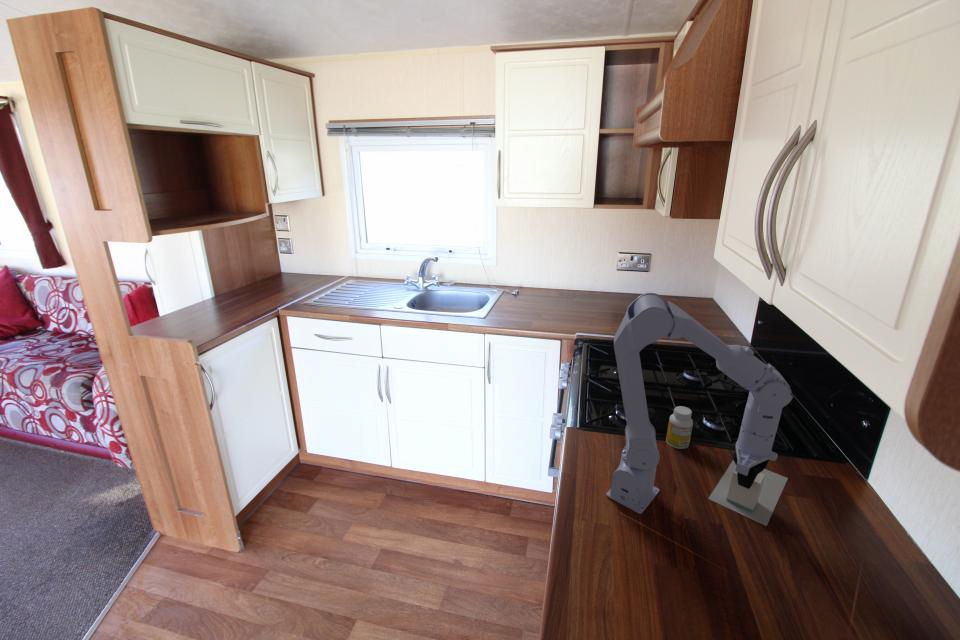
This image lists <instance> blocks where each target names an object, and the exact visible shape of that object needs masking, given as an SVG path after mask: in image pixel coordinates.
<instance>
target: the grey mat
mask: <svg viewBox="0 0 960 640" xmlns="http://www.w3.org/2000/svg"><path fill="white" fill-rule="evenodd" d="M735 469H736V464H735V462H734V460H732V461H731V462H730V463H729V466H728V467H727V469H726V470H725V472H724V473H723V475H722V477H721V478H720V480H719V481H718V483H717V484H716V486H715V487H714V489H713V490H712V492H711V493H710V495H709V497H708V498H707V499H708V500H709V501H711V502H713V503H716V504H719V505H720V506H722V507H725V508H726V509H728V510H731V511H733V512H735V513H738V514H740V515H741V516H744V517H746V518H748V519H750V520H752V521H755V522H756V523H759V524H761V525H763V526H764V527H767V526H768V523H769V521H770V519H771V517H772V515H773V513H774V510H775V508H776V505H777V504H778V502H779V499H780V497H781V495H782V493H783V491H784V488H785V485H786V484H787V481H788V479H789V478H788V477H786V476H783V475H780V474H779V473H776V472H773V471H771V470H768V469H767V468H765V469H764V470H763V471H762V472H760V473H763V474H765V478H764V481H763V485H762V489H761V492H760V496H759V500H758V503H757V505H756V507H755V509H754V510H753V512H751V511H749V510H747V509H745V508H743V507H740V506H738V505H736V504H734V503H732V502H730V501H727V500H726V499H727V495H728V491H729V487H730V483H731V479H732V475H733V472H734V470H735Z"/></svg>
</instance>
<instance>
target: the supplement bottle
mask: <svg viewBox="0 0 960 640" xmlns="http://www.w3.org/2000/svg"><path fill="white" fill-rule="evenodd" d="M692 414H693V412H692V410H691V409H690V408H689V407H686V406H683V405H682V406H681V405H679V406H676V407H674V409H673V413H672V414H671V415H670V416H669V419H668V420H669V421H668V425H667V432H666V438H665V441H666V443H667V444H668V445H669V446H670V447H672V448H676V449H679V450H680V449H681V450H683V449H687V448H689V446H690V442H691V436H692V432H693V431H692V430H693V426H694V421H693V419H692V418H691V417H692Z"/></svg>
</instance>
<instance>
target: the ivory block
mask: <svg viewBox="0 0 960 640" xmlns="http://www.w3.org/2000/svg"><path fill="white" fill-rule="evenodd" d="M764 478H765V474H763V473H759V474H758V475H757V476H756V478H755V480H754V482H753V484H752V486H751V487H750V489H747V488H745V487H743V486H740V485H739V484H738V477H737V472H736V471H735V470H734V472H733V475H732V479H731V483H730V487H729V491H728V495H727V499H726V500H727V501H730V502H732V503H734V504H736V505H738V506H740V507H743V508H745V509H747V510H749V511H751V512H753V510H754V509H755V507H756V505H757V503H758V500H759V496H760V492H761V489H762V485H763V481H764Z"/></svg>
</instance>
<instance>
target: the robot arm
mask: <svg viewBox="0 0 960 640" xmlns="http://www.w3.org/2000/svg"><path fill="white" fill-rule="evenodd" d="M667 303H668V304H667ZM668 305H669V306H668ZM624 314H625V315H624V317H623V319H622V320H621V321H620V322H621V323H620V325H619V327H618V328H617V330H616V332H615V334H614V338H613V349H614V355H615V360H616V366H617V367H616V368H617V372H618V373H617V374H618V380H619V384H620V390H621V397H622V404H623V409H624V410H623V411H624V415H625V420H626V426H625V429H624V435H625V443H626V444H625V446H624V447H623V448H622V451H621V456H620V463H619V465H618V467H617V468H616V470H615V471H614V472H613V474H612V480H611V487H610V489H609V490H608V491H607V492H606V494H605V495H606V497H607V498H609V499H611V500H613V501H615V502H616V503H619V504H620V505H623V506H624V507H626V508H628V509H629V510H632V511H634V512H635V513H637V514H640V515H641V514H643V512H644V511H645V510H646V509H647V507H649V505H650V504H651V502H652V501H653V500H654V499H655V498H656V496H657V495H658V494H659V493H660V489H659V487H657V486H655V485H654V484H655V478H656V472H657V467H658V464H659V463H660V460H661V459H660V458H661V457H660V456H661V455H660V452H659V450H658V443H657V440H656V439H657V437H656V435H657V434H656V429H655V427H654V426H653V424H652V423H651V420H650V418H649V417H650V416H649V410H648V405H647V403H648V402H647V398H646V397H647V396H646V391H645V384H644V377H643V371H642V370H643V369H642V364H641V363H642V362H641V356H640V352H641V351H642V350H643V349H644V348H646V346H648V345H650V344H653V343H655V342H658V341H660V340H662V338H663V339H664V338H665V337H666V336H667V338H668V340H675V339H679V338H684V339H685V340H686V341H688V342H690V343H691V344H693V345H694V346H696V347H698V348H699V349H700V350H702V351H703V352H704V353H706V354H707V355H709V356H711V357H712V358H714V359H715V364H716V365H715V366H716V368H717V369H718V371H721V373H723V374H724V375H726V376H727V377H728V378H730V379H731V380H732V381H734V382H736V384H738V385H740V386H741V387H742V388H744V389H745V390H747V391H749V392H748V397H747V400H746V401H747V402H746V405H745V408H744V412H743V418H742V421H741V426H740V428H739V429H740V430H739V434H738V439H737V441H736V442H735V451H734V453H733V455H732V459H733V460H734V462H735V464H736V469H735V471H736V472H737V477H738V484H739V485H740V486H743V487H745V488H747V489H750V487H751V486H752V484H753V482H754V480H755V478H756V476H757V475H758V474H759V473H760V472H762V471H763V470H764V469H766V467H767V465H768V464H769V462H770V461H771V462H772V461H773V462H775V461H776V460H777V458H778V455H779V454H778V453H777V452H775V451H773V446H774V442H775V437H776V434H777V432H778V426H779V424H780V423H779V422H780V419H781V416H782V411H783V408H784V407H786V406H787V405H789V404H790V403H791V401H792V400H793V398H794V396H793V395H792V389H791V386H790V384H789V383H788V382H787V381H786V379H785V378H784V377H783V375H782V374H781V372H780V371H778V370H777V369H776V367H775V366H773V365H771V363H767V364H766V363H764V362H763V361H761V359H759V358H758V357H756V356H755V355H754V354H755V351H753V349H751V348H750V347H749V346H745V347H742V345H740V344H726V343H725V342H723V341H722V340H721V339H720V338H719V337H718V336H716V334H714V333H713V332H711V331H710V330H709V329H708V328H706V327H705V326H704V325H702V323H700V322H699V321H698V320H696V319H695V318H694V317H693V316H691V315H690V314H689V313H688V312H686V311H685V310H683V309H682V308H680V307H679V306H677V304H675V303H674V302H672V301H670V300H667V301H666V300H665V298H664V296H661V294H657V293H655V292H646V293H642V294H640V295H639V296H638V297H636V298H635V299H634V300H633V301H632V302H631V303H630V304H629V305H628V306H627V309H626V311H625V313H624ZM733 460H732V461H733Z"/></svg>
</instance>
